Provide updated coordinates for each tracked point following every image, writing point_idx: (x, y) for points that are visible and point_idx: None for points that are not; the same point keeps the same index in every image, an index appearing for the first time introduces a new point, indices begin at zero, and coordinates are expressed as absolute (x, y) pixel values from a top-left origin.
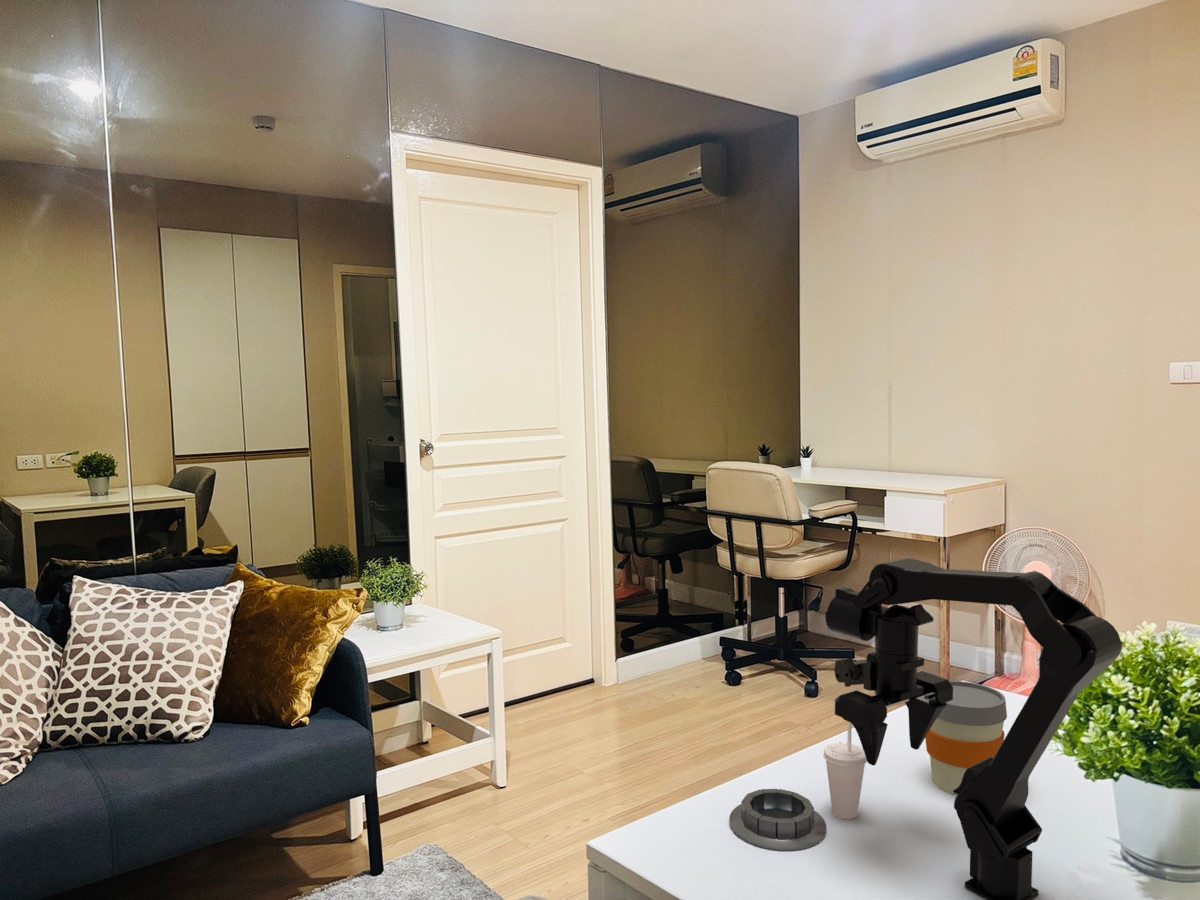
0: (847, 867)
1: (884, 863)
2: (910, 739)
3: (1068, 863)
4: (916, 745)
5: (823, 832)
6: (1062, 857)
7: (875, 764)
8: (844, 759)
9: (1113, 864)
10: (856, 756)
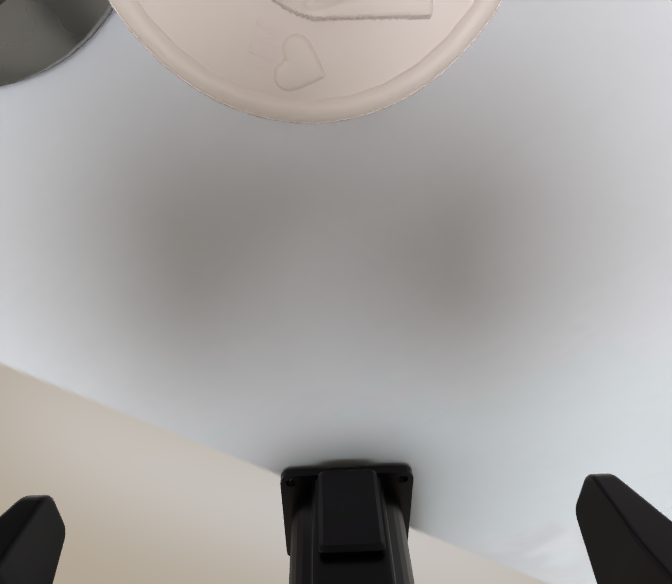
0: (30, 264)
1: (170, 307)
2: (625, 530)
3: None
4: (589, 544)
5: (53, 54)
6: None
7: (59, 540)
8: (148, 38)
9: None
10: (309, 55)
